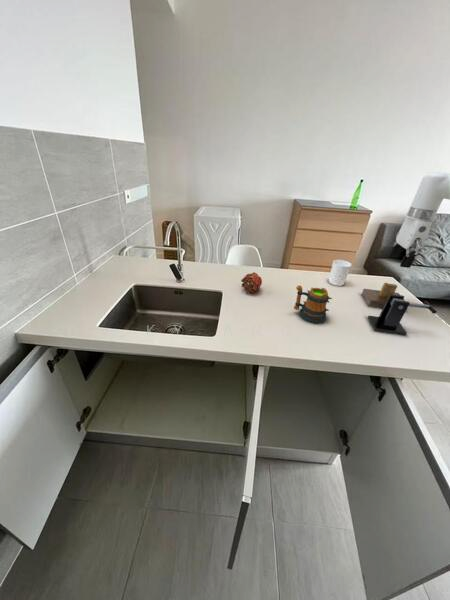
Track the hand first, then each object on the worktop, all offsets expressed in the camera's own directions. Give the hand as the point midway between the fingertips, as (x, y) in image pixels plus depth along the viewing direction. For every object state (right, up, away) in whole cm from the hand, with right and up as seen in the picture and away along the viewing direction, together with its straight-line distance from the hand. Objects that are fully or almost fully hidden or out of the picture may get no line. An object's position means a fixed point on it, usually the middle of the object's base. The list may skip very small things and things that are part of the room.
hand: (398, 261), depth 90 cm
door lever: (-2, -17, -8) cm, 19 cm away
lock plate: (+1, -15, +12) cm, 19 cm away
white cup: (-12, -6, +26) cm, 29 cm away
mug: (-33, -20, +1) cm, 39 cm away
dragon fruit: (-53, -10, +16) cm, 56 cm away
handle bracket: (-7, -24, -3) cm, 25 cm away
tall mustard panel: (+2, -13, +10) cm, 16 cm away
